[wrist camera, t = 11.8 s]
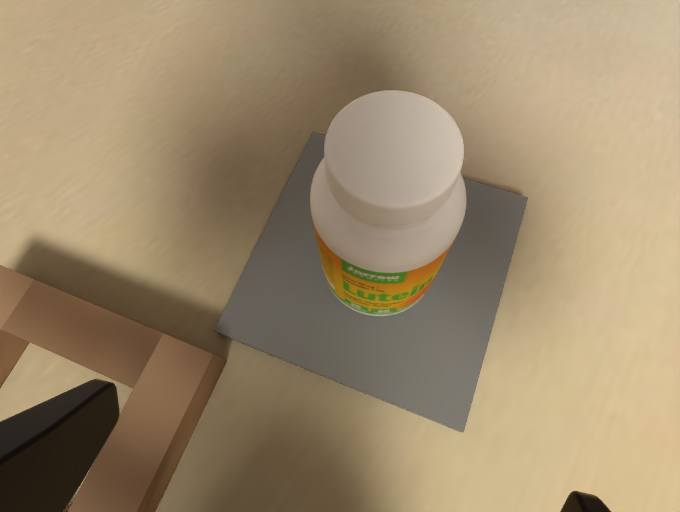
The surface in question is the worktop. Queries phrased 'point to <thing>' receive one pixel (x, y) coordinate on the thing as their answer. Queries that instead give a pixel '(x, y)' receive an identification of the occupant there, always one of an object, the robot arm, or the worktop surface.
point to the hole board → (125, 367)
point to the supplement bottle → (387, 199)
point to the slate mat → (378, 331)
